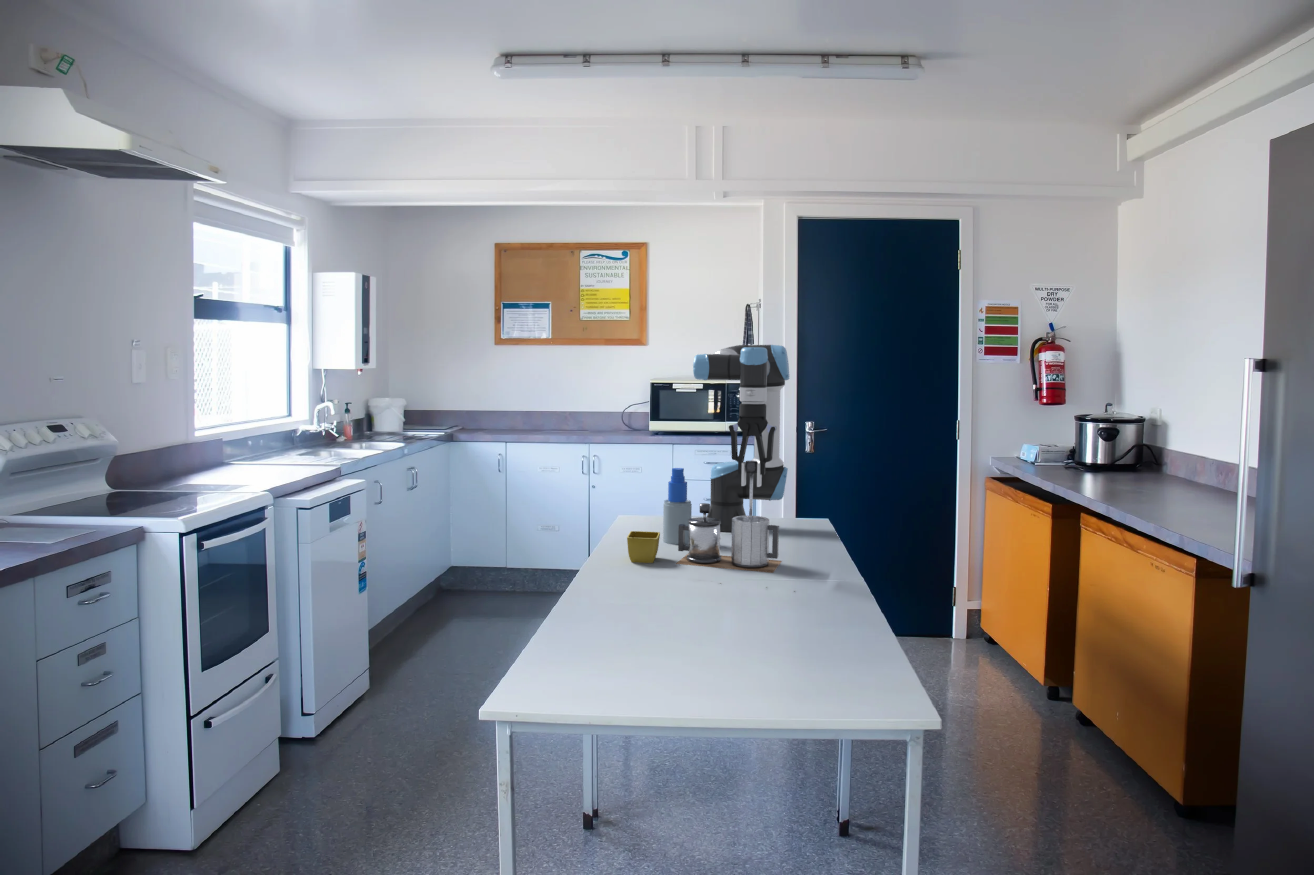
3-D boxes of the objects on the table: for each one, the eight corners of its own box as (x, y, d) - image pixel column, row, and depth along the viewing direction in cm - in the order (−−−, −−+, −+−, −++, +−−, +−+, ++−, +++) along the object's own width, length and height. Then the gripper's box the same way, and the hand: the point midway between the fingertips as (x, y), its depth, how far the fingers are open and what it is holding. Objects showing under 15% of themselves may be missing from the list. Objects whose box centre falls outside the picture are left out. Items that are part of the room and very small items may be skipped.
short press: (684, 553, 241) (684, 499, 240) (725, 557, 237) (725, 502, 236) (673, 561, 232) (674, 505, 230) (716, 565, 228) (717, 508, 226)
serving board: (689, 557, 243) (689, 552, 243) (782, 565, 234) (782, 560, 234) (675, 568, 230) (675, 563, 230) (772, 578, 221) (773, 572, 221)
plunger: (741, 524, 233) (742, 459, 231) (764, 525, 231) (766, 460, 229) (736, 528, 227) (737, 462, 225) (759, 530, 225) (761, 463, 223)
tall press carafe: (736, 558, 236) (736, 514, 235) (780, 562, 232) (781, 517, 231) (727, 566, 227) (728, 521, 225) (773, 571, 222) (774, 524, 221)
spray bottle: (690, 542, 262) (691, 466, 260) (691, 549, 253) (692, 470, 251) (663, 542, 262) (663, 466, 260) (662, 549, 254) (663, 470, 251)
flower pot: (660, 561, 238) (660, 531, 237) (657, 569, 229) (657, 538, 228) (630, 560, 239) (630, 530, 238) (626, 568, 230) (626, 537, 229)
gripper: (720, 402, 225) (719, 485, 227) (780, 404, 219) (778, 489, 221) (726, 401, 232) (725, 482, 234) (785, 402, 226) (783, 485, 229)
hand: (751, 485), depth 228 cm, fingers open, 4 cm apart
